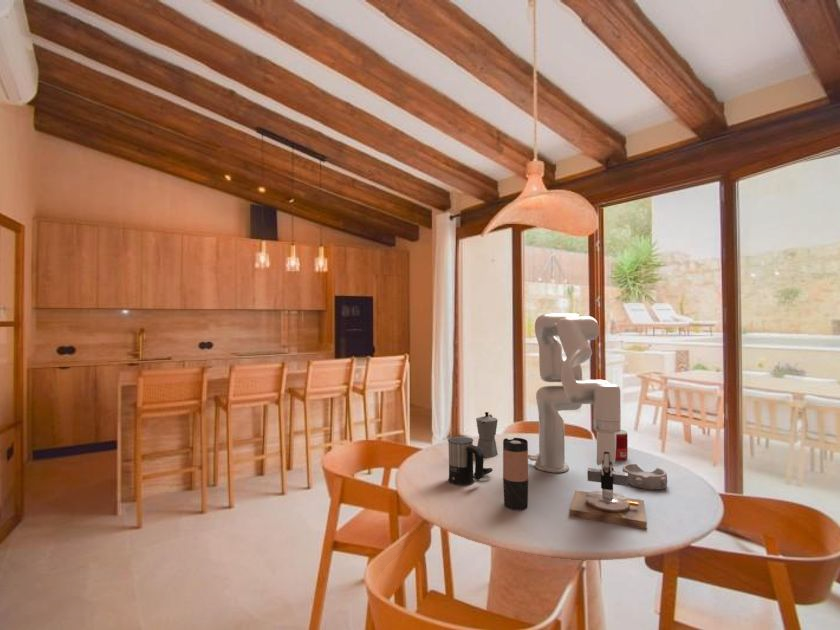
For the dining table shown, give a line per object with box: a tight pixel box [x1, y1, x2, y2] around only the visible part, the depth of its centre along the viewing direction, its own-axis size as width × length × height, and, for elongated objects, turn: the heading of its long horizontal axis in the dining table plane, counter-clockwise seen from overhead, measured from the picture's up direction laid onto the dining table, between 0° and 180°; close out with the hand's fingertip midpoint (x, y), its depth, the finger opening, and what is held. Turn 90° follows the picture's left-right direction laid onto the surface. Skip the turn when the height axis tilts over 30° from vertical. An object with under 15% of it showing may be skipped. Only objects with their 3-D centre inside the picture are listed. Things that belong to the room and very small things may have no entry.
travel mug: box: [502, 437, 529, 511], centre depth 137 cm, size 8×8×20 cm
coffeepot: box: [475, 411, 498, 458], centre depth 192 cm, size 15×9×18 cm, turn 159°
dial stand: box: [569, 489, 648, 530], centre depth 133 cm, size 20×16×2 cm
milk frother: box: [447, 436, 493, 486], centre depth 160 cm, size 14×16×15 cm
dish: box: [622, 463, 668, 490], centre depth 156 cm, size 14×14×5 cm
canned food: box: [615, 429, 629, 461], centre depth 185 cm, size 8×8×11 cm
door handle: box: [586, 467, 638, 512], centre depth 132 cm, size 14×12×10 cm
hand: (607, 484), depth 133 cm, fingers open, 7 cm apart
